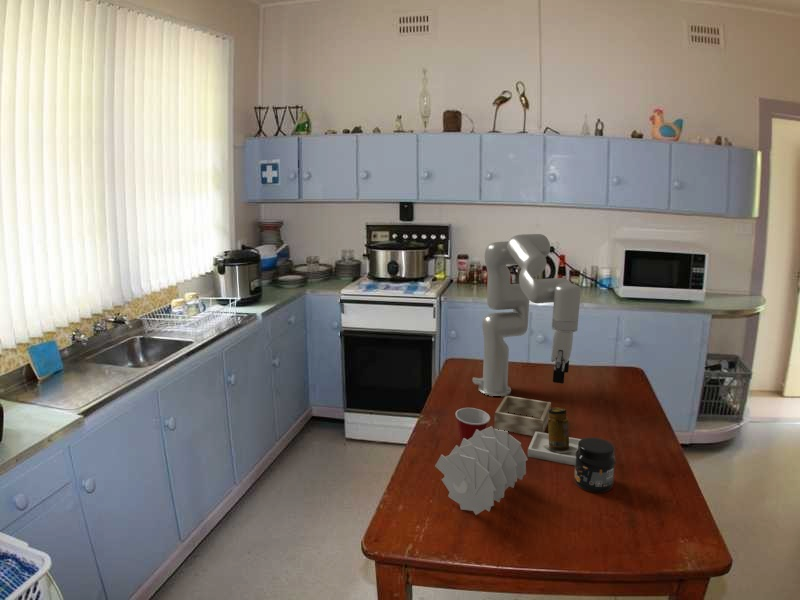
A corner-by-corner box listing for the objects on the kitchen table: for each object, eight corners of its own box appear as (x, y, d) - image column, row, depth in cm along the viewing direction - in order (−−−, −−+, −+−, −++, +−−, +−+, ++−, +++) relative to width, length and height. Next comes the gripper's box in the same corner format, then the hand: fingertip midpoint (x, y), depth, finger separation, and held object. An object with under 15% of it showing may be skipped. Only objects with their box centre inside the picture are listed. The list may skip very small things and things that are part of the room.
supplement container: (573, 471, 171) (576, 434, 168) (611, 477, 168) (615, 439, 165) (573, 490, 161) (576, 451, 158) (613, 497, 158) (617, 456, 156)
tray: (527, 456, 180) (527, 449, 179) (535, 438, 192) (535, 431, 191) (588, 468, 173) (589, 460, 172) (592, 448, 185) (593, 441, 184)
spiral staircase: (515, 494, 167) (472, 535, 147) (467, 453, 174) (420, 486, 154) (546, 448, 159) (505, 484, 139) (494, 407, 167) (449, 436, 147)
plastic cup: (480, 461, 177) (481, 424, 174) (448, 452, 182) (449, 416, 180) (494, 447, 186) (496, 412, 183) (463, 438, 191) (464, 404, 188)
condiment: (561, 442, 187) (559, 405, 186) (579, 450, 179) (577, 411, 178) (542, 446, 184) (540, 409, 183) (559, 454, 176) (557, 415, 175)
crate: (494, 429, 198) (494, 412, 197) (504, 410, 212) (505, 395, 211) (542, 437, 192) (543, 420, 191) (549, 418, 206) (550, 402, 205)
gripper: (556, 315, 187) (552, 366, 191) (547, 330, 171) (543, 385, 176) (581, 318, 184) (576, 369, 188) (573, 333, 168) (569, 389, 173)
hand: (560, 377), depth 182 cm, fingers open, 9 cm apart
